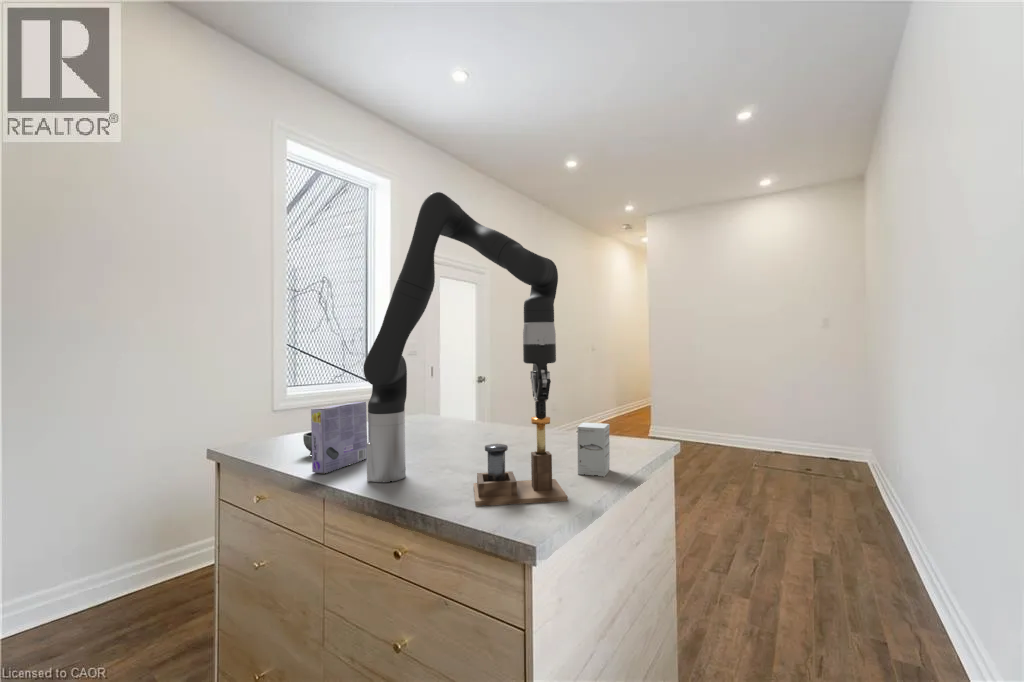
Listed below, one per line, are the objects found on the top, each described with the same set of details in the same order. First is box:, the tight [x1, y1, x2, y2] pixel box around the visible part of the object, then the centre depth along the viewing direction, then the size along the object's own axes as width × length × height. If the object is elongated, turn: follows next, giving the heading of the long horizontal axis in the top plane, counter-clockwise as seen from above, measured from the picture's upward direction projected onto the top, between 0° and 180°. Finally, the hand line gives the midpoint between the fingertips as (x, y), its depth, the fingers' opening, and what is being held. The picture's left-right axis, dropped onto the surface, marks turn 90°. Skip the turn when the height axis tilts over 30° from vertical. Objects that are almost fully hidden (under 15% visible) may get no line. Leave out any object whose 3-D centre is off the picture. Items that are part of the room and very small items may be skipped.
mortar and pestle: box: [303, 431, 312, 456], centre depth 147 cm, size 11×9×12 cm
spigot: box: [484, 443, 509, 482], centre depth 105 cm, size 5×5×10 cm
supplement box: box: [577, 422, 611, 477], centre depth 122 cm, size 7×7×13 cm
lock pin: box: [530, 416, 551, 455], centre depth 106 cm, size 4×4×10 cm
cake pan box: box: [310, 401, 368, 475], centre depth 133 cm, size 19×5×18 cm, turn 159°
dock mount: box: [473, 450, 569, 507], centre depth 106 cm, size 20×13×9 cm, turn 96°
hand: (540, 417), depth 106 cm, fingers closed
